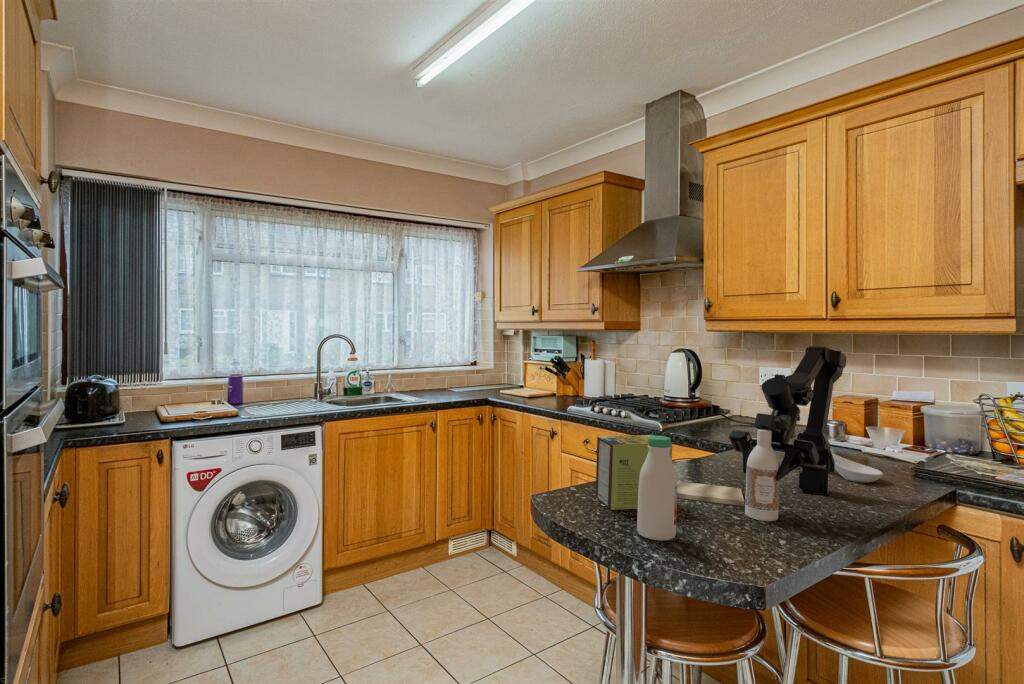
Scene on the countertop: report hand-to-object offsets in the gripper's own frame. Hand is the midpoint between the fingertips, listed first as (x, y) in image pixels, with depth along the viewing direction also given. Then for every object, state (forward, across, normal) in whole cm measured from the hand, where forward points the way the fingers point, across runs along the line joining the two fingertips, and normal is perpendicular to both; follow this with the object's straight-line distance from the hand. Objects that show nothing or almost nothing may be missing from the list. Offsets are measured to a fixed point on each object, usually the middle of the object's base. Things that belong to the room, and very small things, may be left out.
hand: (760, 476), depth 123 cm
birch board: (+2, -16, +12) cm, 20 cm away
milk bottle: (+26, -9, -13) cm, 31 cm away
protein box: (+17, -25, -3) cm, 30 cm away
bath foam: (+6, 0, +8) cm, 10 cm away
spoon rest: (-34, -2, +49) cm, 60 cm away
